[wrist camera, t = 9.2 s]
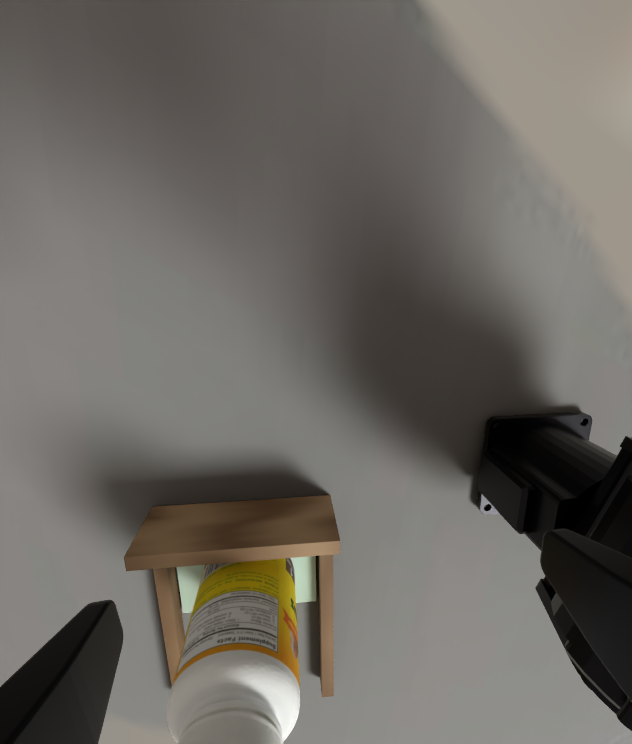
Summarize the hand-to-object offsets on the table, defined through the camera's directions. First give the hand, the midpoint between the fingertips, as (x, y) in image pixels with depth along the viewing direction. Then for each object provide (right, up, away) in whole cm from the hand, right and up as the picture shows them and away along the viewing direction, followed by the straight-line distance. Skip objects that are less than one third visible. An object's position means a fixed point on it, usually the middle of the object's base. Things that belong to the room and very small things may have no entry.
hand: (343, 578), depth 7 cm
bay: (-5, -11, +16) cm, 20 cm away
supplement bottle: (-5, -8, +15) cm, 18 cm away
